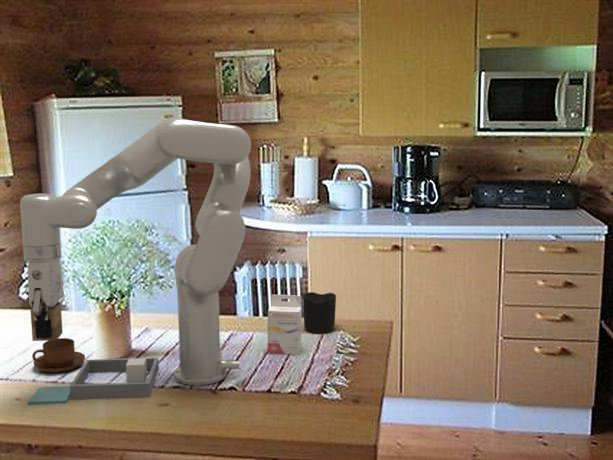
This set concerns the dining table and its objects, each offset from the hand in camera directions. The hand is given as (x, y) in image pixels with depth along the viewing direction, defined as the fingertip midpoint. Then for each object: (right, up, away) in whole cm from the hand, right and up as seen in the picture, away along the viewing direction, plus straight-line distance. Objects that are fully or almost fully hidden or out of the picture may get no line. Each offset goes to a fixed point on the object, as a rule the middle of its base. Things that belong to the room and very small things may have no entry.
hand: (47, 332), depth 151 cm
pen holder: (+60, -6, +48) cm, 77 cm away
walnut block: (0, -1, 0) cm, 1 cm away
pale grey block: (+17, -13, +11) cm, 24 cm away
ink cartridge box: (+51, -10, +31) cm, 60 cm away
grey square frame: (+13, -13, +10) cm, 21 cm away
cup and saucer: (-5, -12, +20) cm, 24 cm away
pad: (0, -14, +3) cm, 15 cm away
